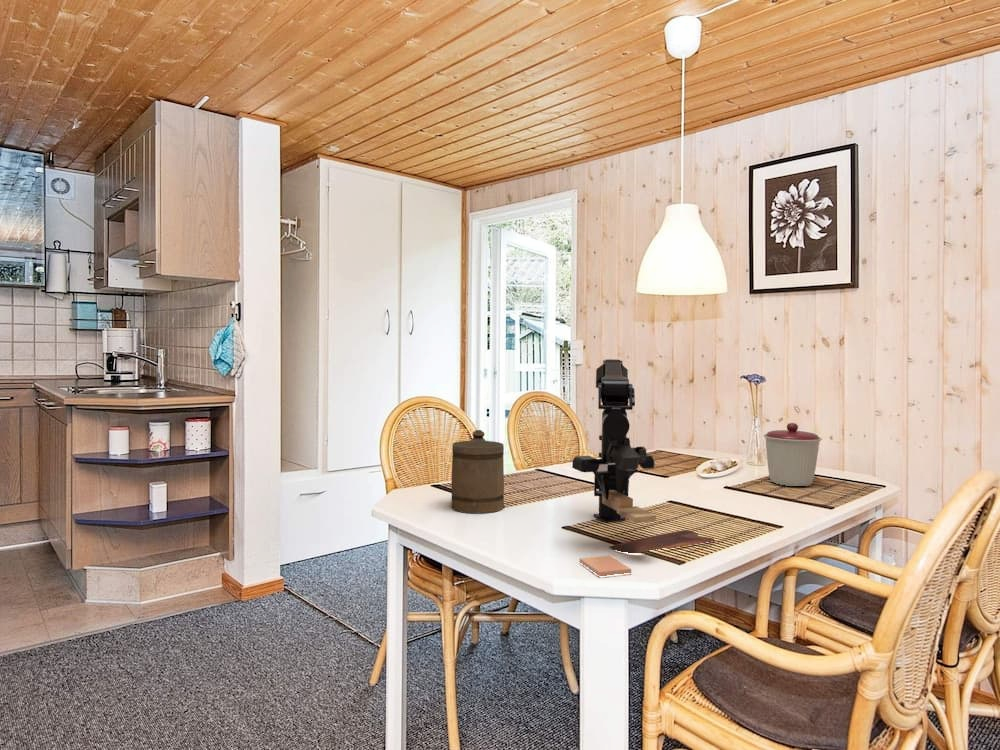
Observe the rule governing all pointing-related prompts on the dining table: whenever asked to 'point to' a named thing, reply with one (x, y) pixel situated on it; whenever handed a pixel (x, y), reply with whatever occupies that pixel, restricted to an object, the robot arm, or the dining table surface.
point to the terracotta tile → (605, 565)
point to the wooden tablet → (661, 542)
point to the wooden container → (477, 475)
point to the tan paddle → (627, 507)
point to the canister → (792, 456)
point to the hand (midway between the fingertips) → (612, 498)
